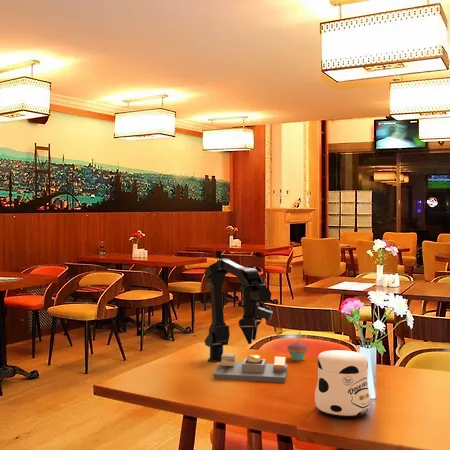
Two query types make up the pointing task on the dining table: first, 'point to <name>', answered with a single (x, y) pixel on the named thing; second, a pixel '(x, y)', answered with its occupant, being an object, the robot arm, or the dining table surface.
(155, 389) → the dining table surface
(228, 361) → the tan rectangular prism
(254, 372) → the panel
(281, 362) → the rocker
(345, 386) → the milk container
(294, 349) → the cupcake
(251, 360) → the button
